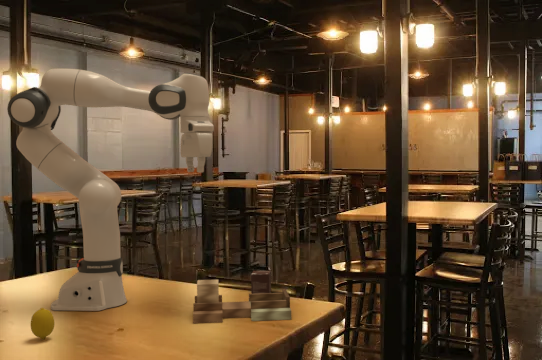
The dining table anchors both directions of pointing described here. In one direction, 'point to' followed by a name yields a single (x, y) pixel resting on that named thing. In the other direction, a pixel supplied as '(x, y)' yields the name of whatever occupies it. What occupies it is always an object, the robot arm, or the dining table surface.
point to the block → (207, 291)
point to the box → (260, 282)
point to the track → (245, 308)
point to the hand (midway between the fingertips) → (195, 172)
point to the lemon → (42, 323)
